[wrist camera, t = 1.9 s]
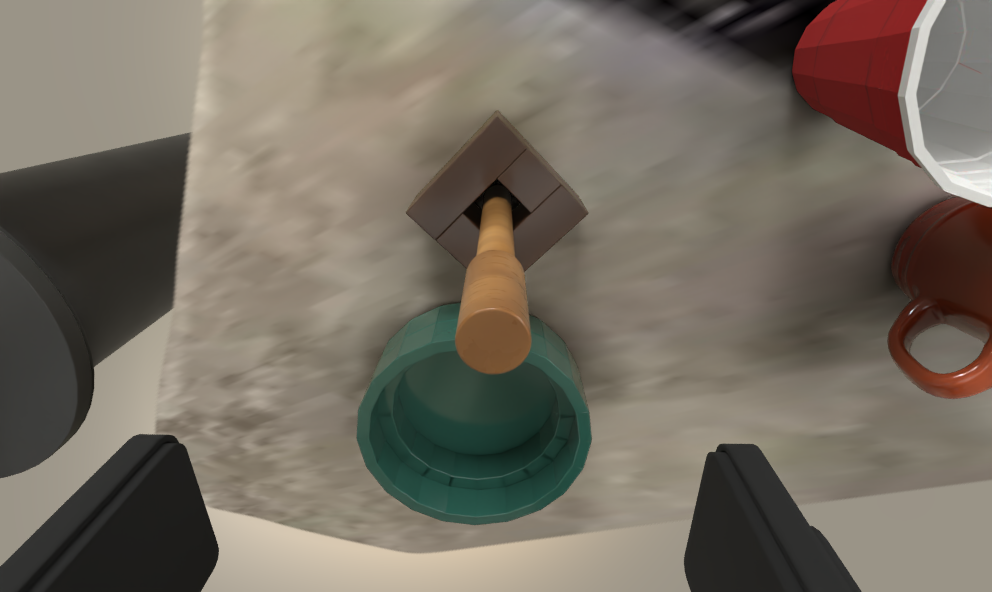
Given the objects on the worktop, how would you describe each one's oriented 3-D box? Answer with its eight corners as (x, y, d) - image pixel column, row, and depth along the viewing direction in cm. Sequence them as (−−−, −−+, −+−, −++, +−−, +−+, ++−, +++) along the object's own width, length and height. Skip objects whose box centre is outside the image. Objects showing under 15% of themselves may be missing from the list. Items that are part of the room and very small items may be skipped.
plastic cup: (949, 125, 29) (1222, 161, 18) (755, 179, 30) (900, 243, 19) (964, -99, 25) (1335, -231, 14) (738, -25, 26) (911, -91, 15)
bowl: (335, 388, 37) (309, 439, 32) (475, 254, 32) (470, 289, 27) (479, 495, 41) (476, 555, 36) (620, 390, 37) (639, 441, 32)
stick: (472, 195, 31) (439, 342, 14) (497, 169, 30) (493, 293, 14) (497, 220, 31) (493, 388, 15) (523, 195, 31) (547, 343, 14)
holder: (416, 195, 31) (404, 213, 27) (497, 109, 29) (497, 115, 25) (497, 271, 33) (496, 297, 29) (578, 195, 31) (589, 213, 27)
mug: (990, 145, 29) (1217, 183, 20) (1038, 253, 32) (1259, 331, 23) (798, 271, 33) (917, 353, 23) (857, 359, 35) (985, 465, 26)
